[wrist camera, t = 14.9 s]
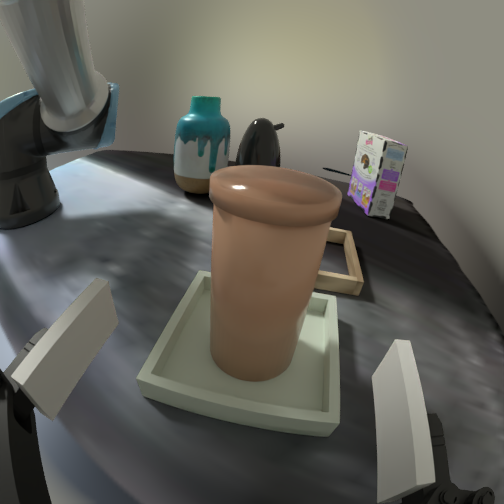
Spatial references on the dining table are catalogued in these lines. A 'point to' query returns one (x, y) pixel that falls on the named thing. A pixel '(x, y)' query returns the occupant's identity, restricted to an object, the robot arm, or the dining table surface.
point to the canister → (264, 264)
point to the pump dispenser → (260, 144)
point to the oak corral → (355, 279)
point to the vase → (200, 144)
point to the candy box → (376, 173)
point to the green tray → (239, 391)
